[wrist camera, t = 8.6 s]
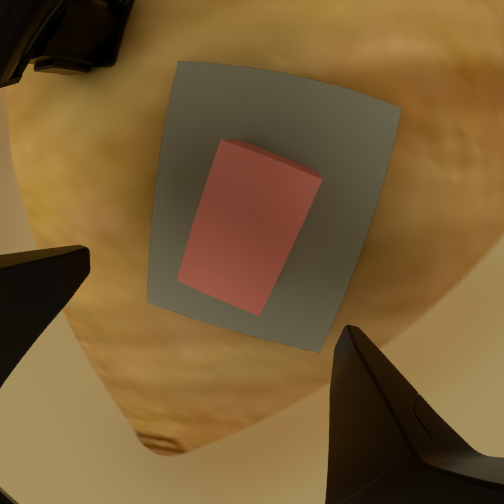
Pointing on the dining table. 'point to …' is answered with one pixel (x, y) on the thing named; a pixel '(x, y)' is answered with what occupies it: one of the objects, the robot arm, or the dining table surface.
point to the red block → (246, 224)
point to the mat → (289, 146)
